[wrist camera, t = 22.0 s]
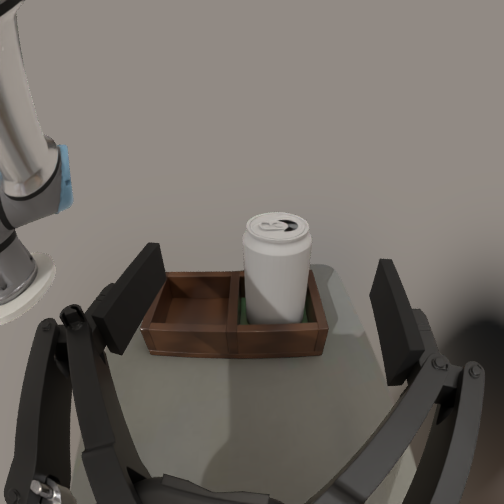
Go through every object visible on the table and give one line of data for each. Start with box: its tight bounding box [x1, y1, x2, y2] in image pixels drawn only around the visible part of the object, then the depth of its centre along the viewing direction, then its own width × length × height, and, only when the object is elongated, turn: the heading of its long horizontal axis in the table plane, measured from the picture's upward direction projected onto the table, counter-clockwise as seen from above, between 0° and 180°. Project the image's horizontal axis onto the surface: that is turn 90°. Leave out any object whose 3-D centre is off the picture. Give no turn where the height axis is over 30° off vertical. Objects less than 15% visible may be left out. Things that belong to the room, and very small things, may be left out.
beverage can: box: [243, 212, 312, 325], centre depth 28 cm, size 6×6×12 cm
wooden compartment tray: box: [140, 270, 329, 358], centre depth 31 cm, size 19×10×4 cm, turn 90°
